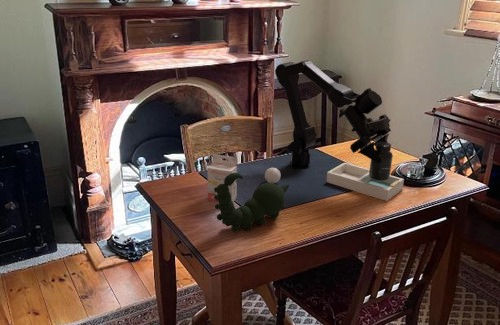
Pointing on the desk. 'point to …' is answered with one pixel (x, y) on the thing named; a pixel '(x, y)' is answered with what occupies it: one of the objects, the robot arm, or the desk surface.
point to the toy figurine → (249, 204)
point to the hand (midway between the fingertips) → (385, 159)
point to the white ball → (272, 175)
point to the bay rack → (364, 181)
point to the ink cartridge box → (221, 175)
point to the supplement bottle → (384, 167)
